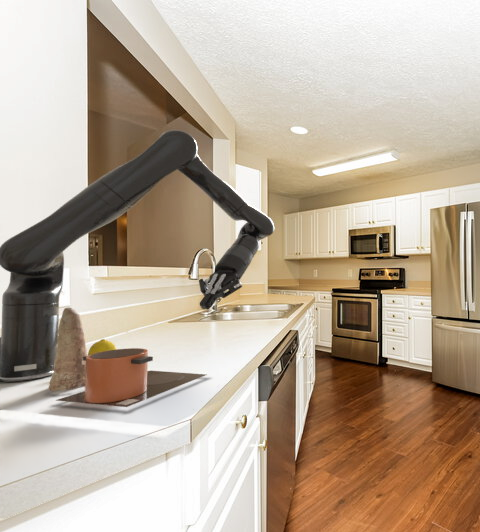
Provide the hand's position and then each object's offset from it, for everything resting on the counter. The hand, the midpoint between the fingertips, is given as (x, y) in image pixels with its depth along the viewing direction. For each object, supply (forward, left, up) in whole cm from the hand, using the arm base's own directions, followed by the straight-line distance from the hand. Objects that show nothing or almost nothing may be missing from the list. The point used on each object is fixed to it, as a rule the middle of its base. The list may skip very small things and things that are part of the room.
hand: (203, 307), depth 90 cm
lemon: (-22, -8, -16) cm, 28 cm away
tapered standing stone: (-14, -21, -16) cm, 30 cm away
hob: (0, -18, -16) cm, 24 cm away
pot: (0, -23, -15) cm, 27 cm away
